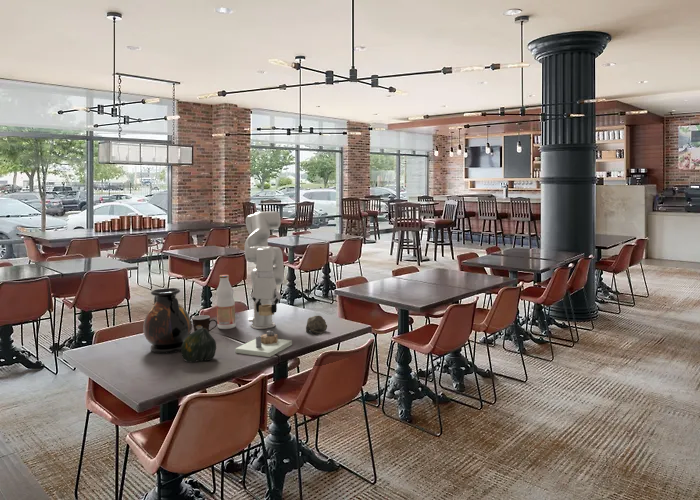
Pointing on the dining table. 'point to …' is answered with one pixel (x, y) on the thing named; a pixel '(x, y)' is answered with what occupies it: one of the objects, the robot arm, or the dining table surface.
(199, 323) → the coffee mug
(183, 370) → the dining table surface
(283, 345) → the gear board
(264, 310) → the maple gear
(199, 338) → the squash
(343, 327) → the dining table surface
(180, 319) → the amphora vase
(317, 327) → the grey lumpy stone
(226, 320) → the fruit juice
